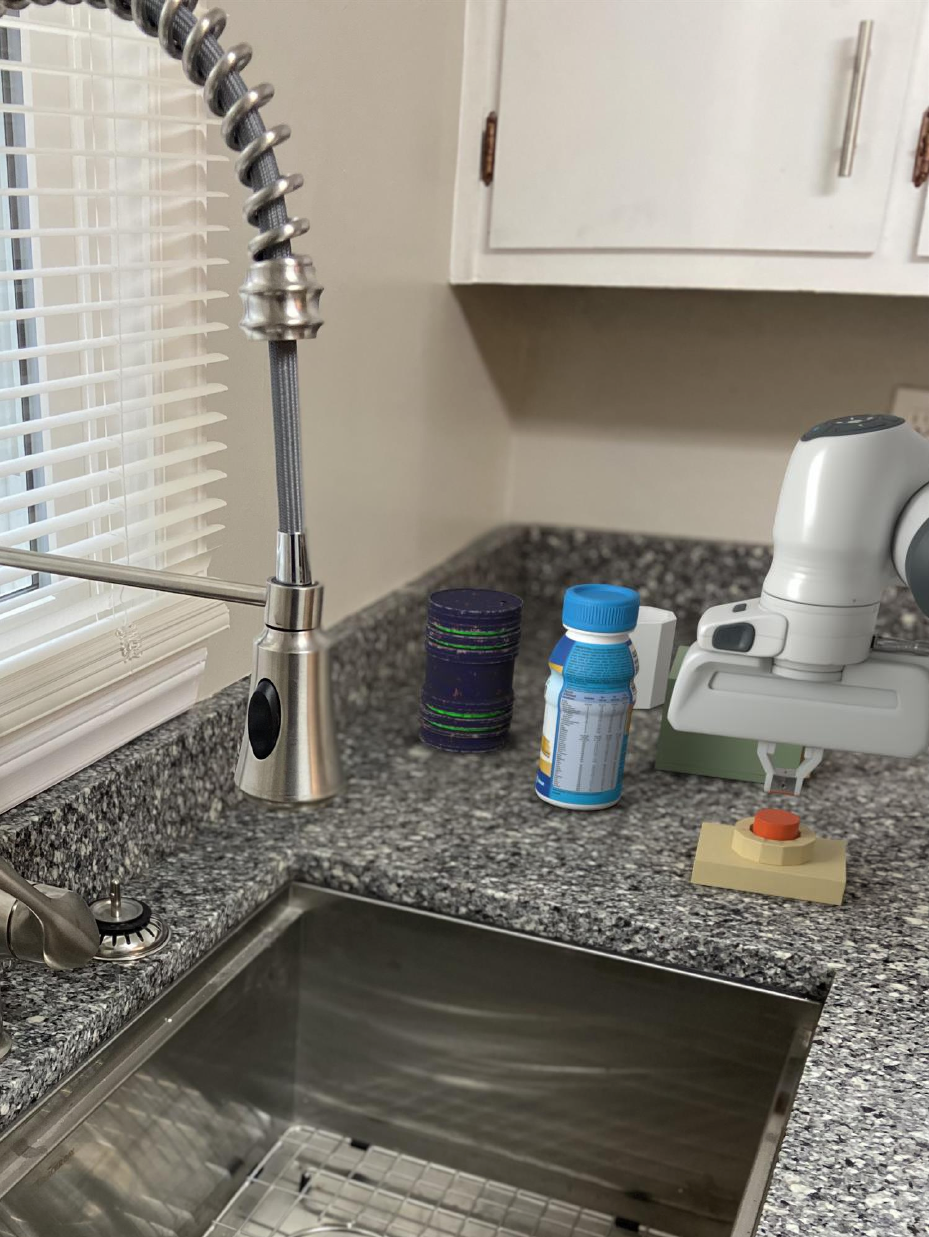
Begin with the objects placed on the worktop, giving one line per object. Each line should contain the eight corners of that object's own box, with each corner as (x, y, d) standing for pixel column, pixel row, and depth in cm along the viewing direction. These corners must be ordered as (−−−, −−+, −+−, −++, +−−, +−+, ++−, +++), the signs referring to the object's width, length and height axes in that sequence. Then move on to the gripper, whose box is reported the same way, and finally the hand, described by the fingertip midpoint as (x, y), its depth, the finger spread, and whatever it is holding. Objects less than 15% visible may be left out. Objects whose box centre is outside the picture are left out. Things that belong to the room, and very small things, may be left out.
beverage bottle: (577, 820, 136) (604, 607, 126) (514, 791, 142) (536, 587, 133) (640, 802, 140) (670, 595, 131) (576, 775, 146) (601, 576, 137)
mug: (671, 693, 171) (684, 610, 166) (655, 713, 164) (668, 628, 159) (571, 679, 175) (580, 598, 171) (551, 698, 168) (561, 614, 164)
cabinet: (797, 747, 154) (815, 659, 150) (795, 787, 144) (813, 693, 139) (666, 731, 158) (679, 645, 154) (654, 769, 148) (667, 678, 143)
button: (796, 831, 124) (800, 812, 124) (795, 846, 121) (799, 827, 121) (753, 824, 126) (756, 806, 125) (751, 840, 123) (754, 821, 122)
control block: (840, 864, 127) (849, 822, 125) (841, 905, 120) (850, 861, 118) (699, 843, 131) (705, 802, 129) (690, 883, 123) (697, 840, 121)
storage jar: (409, 747, 153) (419, 606, 146) (426, 718, 161) (436, 584, 155) (504, 757, 150) (518, 615, 144) (516, 728, 159) (530, 592, 152)
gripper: (953, 633, 115) (913, 796, 121) (686, 607, 121) (662, 763, 127) (958, 654, 110) (917, 823, 116) (679, 626, 116) (654, 788, 122)
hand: (781, 792), depth 122 cm, fingers closed
